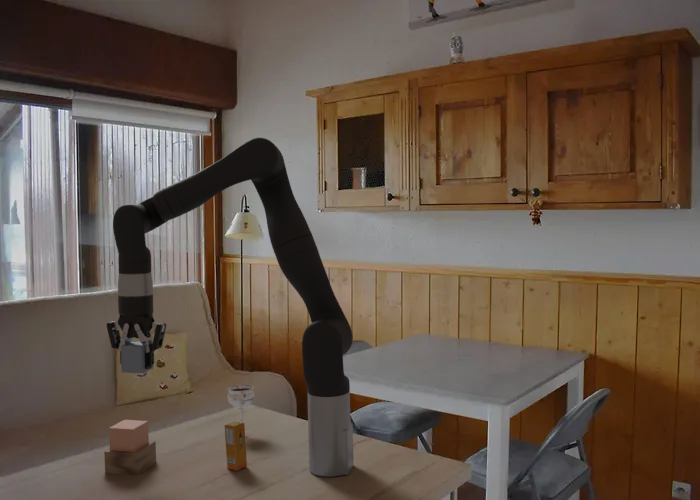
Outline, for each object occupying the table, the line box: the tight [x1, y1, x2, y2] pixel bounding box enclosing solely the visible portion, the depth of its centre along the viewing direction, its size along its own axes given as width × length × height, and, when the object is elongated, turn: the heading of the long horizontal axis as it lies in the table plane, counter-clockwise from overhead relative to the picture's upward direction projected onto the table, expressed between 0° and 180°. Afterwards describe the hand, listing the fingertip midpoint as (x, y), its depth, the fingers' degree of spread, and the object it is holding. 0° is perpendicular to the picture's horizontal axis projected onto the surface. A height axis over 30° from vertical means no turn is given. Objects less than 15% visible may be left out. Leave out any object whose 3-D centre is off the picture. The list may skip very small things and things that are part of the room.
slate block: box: [120, 341, 154, 374], centre depth 149 cm, size 5×5×6 cm
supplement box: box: [224, 421, 248, 472], centre depth 146 cm, size 3×4×10 cm
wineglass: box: [227, 384, 255, 438], centre depth 169 cm, size 7×7×12 cm
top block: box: [108, 419, 150, 452], centre depth 148 cm, size 6×6×5 cm
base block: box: [103, 440, 157, 476], centre depth 148 cm, size 8×8×5 cm
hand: (137, 367), depth 149 cm, fingers closed on slate block, 5 cm apart
